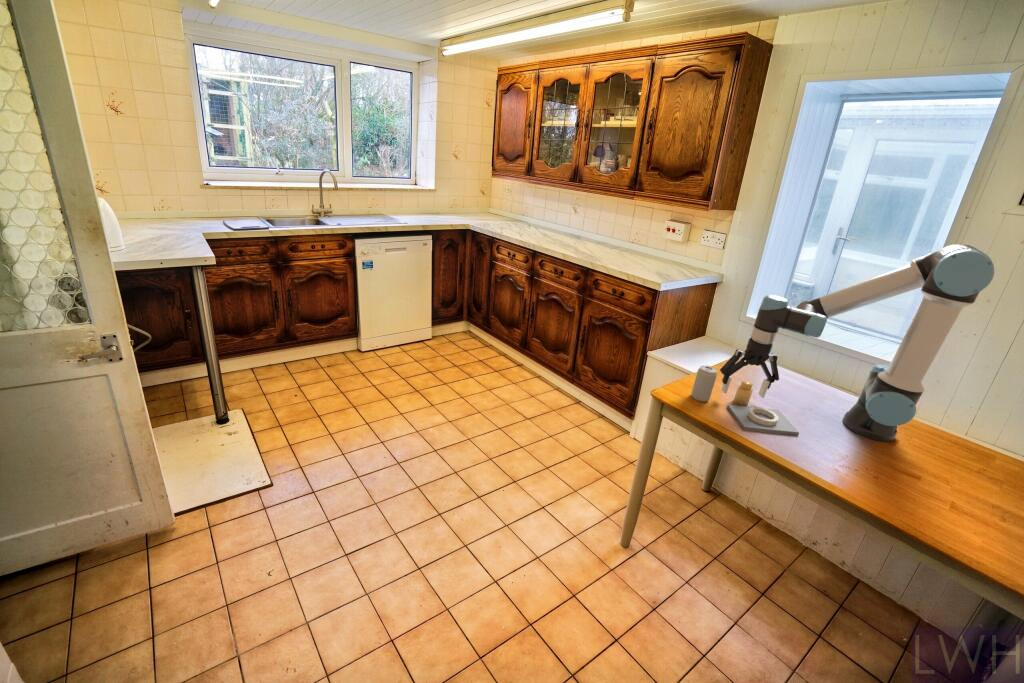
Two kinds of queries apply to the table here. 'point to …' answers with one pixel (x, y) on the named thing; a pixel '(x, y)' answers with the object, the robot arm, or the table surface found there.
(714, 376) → the beverage can
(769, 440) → the table surface
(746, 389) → the nesting doll
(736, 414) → the collar board
